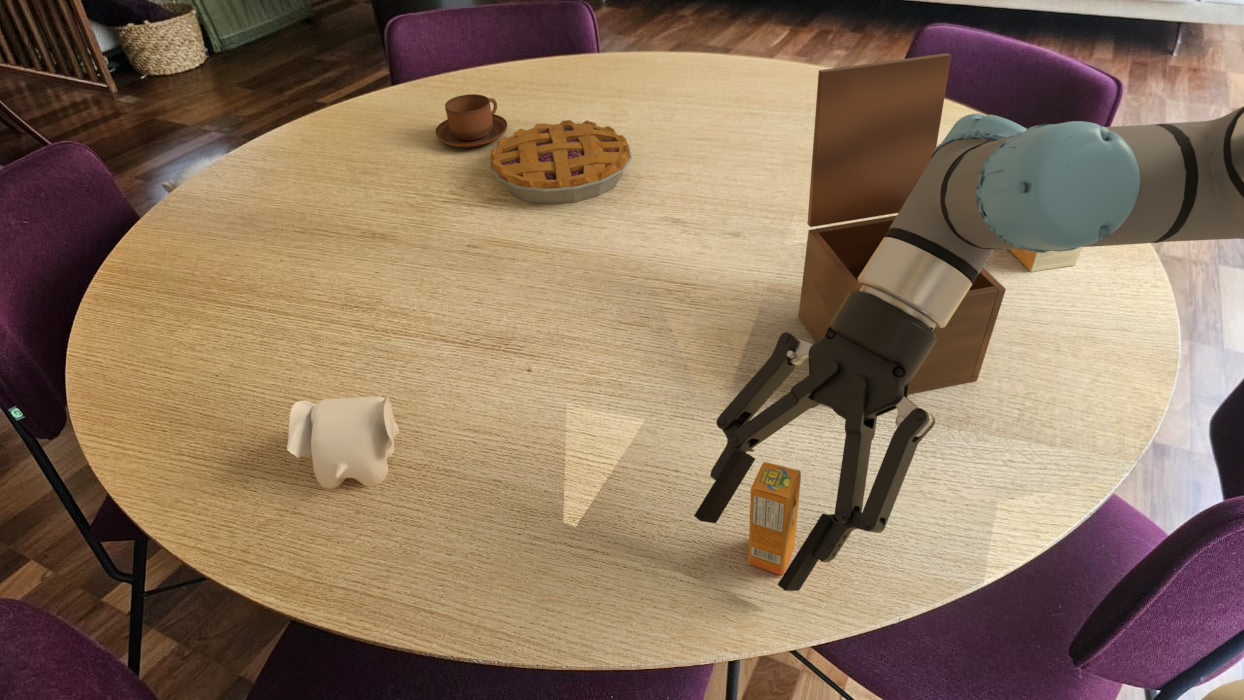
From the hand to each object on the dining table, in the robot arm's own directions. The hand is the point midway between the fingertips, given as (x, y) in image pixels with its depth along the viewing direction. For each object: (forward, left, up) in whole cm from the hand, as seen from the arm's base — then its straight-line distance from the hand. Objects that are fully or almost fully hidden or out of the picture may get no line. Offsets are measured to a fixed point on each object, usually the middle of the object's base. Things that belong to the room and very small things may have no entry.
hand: (745, 552), depth 65 cm
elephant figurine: (+38, +5, -4) cm, 38 cm away
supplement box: (-1, -3, -4) cm, 5 cm away
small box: (-14, -62, -4) cm, 64 cm away
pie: (+53, -55, -4) cm, 76 cm away
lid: (+3, -41, +17) cm, 45 cm away
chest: (-2, -35, -4) cm, 35 cm away
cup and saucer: (+74, -60, -4) cm, 95 cm away
